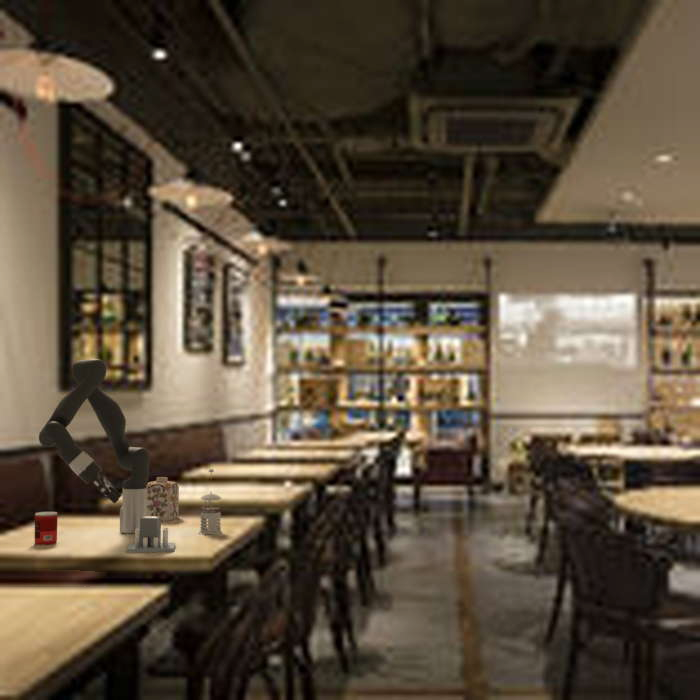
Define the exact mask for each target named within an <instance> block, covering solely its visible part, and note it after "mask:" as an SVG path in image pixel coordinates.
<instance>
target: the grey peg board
mask: <svg viewBox="0 0 700 700" xmlns="http://www.w3.org/2000/svg"><path fill="white" fill-rule="evenodd" d="M174 548H176V542H169V527H166V526H165V527H163V529H162V542H161V545H159V546H158V537H154V546H153V547H148V538H147V537H144V538H143V547H140V528H136V529H135V534H134V542H130V543H129V544H128V546H127V548H126V553H170V552H171V553H172V552H173V551H174V552H175V549H174ZM174 552H173V553H174Z"/></svg>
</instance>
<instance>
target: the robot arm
mask: <svg viewBox="0 0 700 700" xmlns="http://www.w3.org/2000/svg"><path fill="white" fill-rule="evenodd" d="M71 371H72V376H73V378H74V381H75V383H76V384H77V385H76V387H75V388H74V389H72V390H71V391H69V392H68V393H67V394H66V395H65V396H64V397H63V398H62V399H61V400H60V402H59V403H58V404H57V406H56V407H55V409H54V411H53V413H52V414H51V417H50V418H49V419H48V421H46V424H45V425H44V426H43V427H42V429H41V431H40V432H39V435H38V442H39V443H40V445H42V446H43V447H45V448H52V447H55V446H56V447H57V448H58V456H59V457H60V459H62V460H63V462H65V464H66V465H68V467H70V469H71V470H72V472H74V473H75V474H76V476H77V477H79V478H80V479H81V480H82V481H83V482H84V483H85V484H86V485H87V484H89V483H90V482H92V486H93V487H94V488H95V489H96V490H97V491H98V492H99V493H100V494H101V495H102V496H103V497H107V498H108V499H109V500H110V501H111V502H112V503H113V504H116V503H117V502H118V501H119V499H120V498H121V497H122V499H121V501H122V503H121V504H122V505H121V507H120V508H119V533H122V532H123V534H128V533H131V534H132V533H133V534H134V533H135V529H136V528H140V518H142V517H144V516H146V490H147V484H148V483H149V477H150V475H149V474H150V473H149V472H150V462H151V461H150V453H149V451H148V450H147V449H146V448H144V447H138V446H137V447H134V446H131V445H130V443H129V442H128V439H127V437H126V434H125V433H126V425H127V422H126V421H127V420H126V417H125V414H124V412H123V410H122V408H121V406H120V404H119V403H118V402H117V401H116V400H115V399H114V398H112V397H111V396H109V394H107V393H106V392H105V391H103V390H102V389H101V388H100V387H99V386H100V384H101V383H102V382H103V381H104V380H105V378H106V375H107V367H106V364H105V362H104V361H103V360H101V359H99V358H98V359H97V358H92V359H90V358H89V359H82V360H81V359H80V360H78V361H75V362H74V363H73V365H72V369H71ZM86 400H87V401H88V403H89V404H90V406H91V408H92V410H93V411H94V414H95V415H96V417H97V420H98V421H99V423H100V425H101V427H102V429H103V430H104V433H105V434H106V436H107V439H108V441H109V442H110V444H111V447H112V449H113V452H114V454H115V457H116V460H117V462H118V464H119V466H120V467H121V469H123V470H125V471H131V475H130V477H129V478H127V479H125V480H124V481H122V494H121V493H120V492H119V491H118V490H117V489H116V488H115V485H114V484H113V483H112V482H111V480H109V479H108V478H107V477H106V476H105V475H104V474H100V473H101V472H102V471H103V468H102V466H101V465H99V464H98V462H96V461H95V459H94V458H92V456H90V455H89V454H88V453H87V452H85V451H84V450H83V449H82V448H81V447H80V446H79V445H78V444H77V442H75V441H74V438H73V437H72V435H71V433H70V432H69V431H68V429H67V427H68V426H69V425H70V424H71V422H72V421H73V420H74V418H75V416H76V415H77V413H78V411H80V408H81V407H82V405H83V404H84V403H85V402H86ZM134 535H135V534H134Z"/></svg>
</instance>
